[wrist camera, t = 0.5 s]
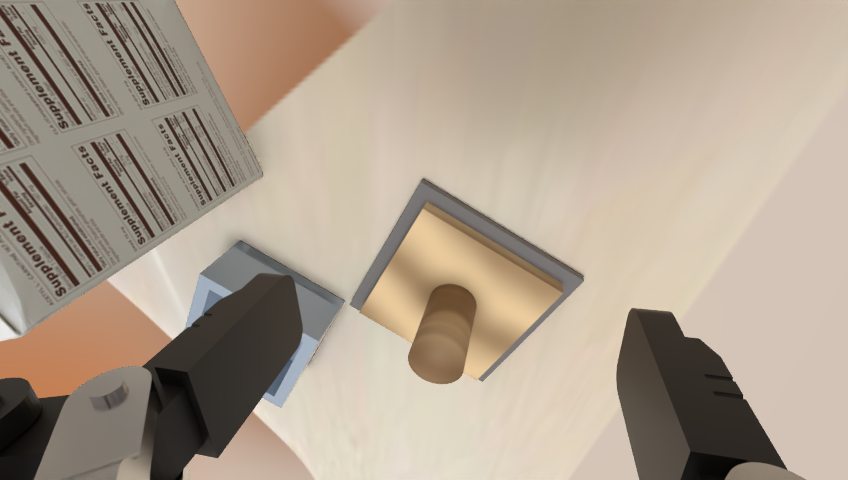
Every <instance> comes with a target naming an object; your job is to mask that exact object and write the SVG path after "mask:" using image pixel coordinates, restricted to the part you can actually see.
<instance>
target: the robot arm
mask: <svg viewBox="0 0 848 480" xmlns="http://www.w3.org/2000/svg"><path fill="white" fill-rule="evenodd" d="M302 333H303V324H302V319H301V313H300V308H299V303H298V297H297V292H296V287H295V282H294V280H293V278H292V277H291V276H290V275H282V274H271V273H259V274H257V275H256V276H255V277H254V278H253V279H252V280H251V281H249V282H248V283H247V284H246V285H245V286H244V287H243V288H242V289H240V290H238V291H236V292H234V293H232V294H230V295H228V296H226V297H224V298H222V299H220V300H219V301H217V302H216V303H215V304H214V305H213V306H212V307H211V308H209V309H208V310H207V311H206V312H205V313H204V316H200V317H199V318H198V319H197V320H196V321H194V322H193V323H192V325H191V327H187V328H186V329H185V330H184V331H183V332H182V333H181V334H179V335H178V336H177V337H176V338H175V339H174V340H172V341H171V342H170V343H169V344H168V345H167V346H166V347H164V348H163V349H162V350H161V351H160V352H159V353H157V354H156V355H155V356H154V357H153V358H152V359H151V360H149V361H148V362H147V363H146V364H145V365H144V366H142V367H138V366H128V367H121V368H117V369H114V370H110V371H107V372H105V373H102V374H100V375H98V376H96V377H94V378H92V379H90V380H88V381H87V382H85V383H84V384H82V385H81V386H80V387H78V388H77V389H76V390H75V391H74V392H73V393H72V394H71V395H65V396H57V397H48V398H39V399H38V397H37V396H36V394H35V392H34V390H33V389H32V387H31V385H30V384H29V382H28V381H27V380H25V379H22V378H5V379H0V480H190V470H189V467H188V465H187V464H188V463H189V461H190V460H191V459H192V458H193V457H194V455H195V454H199V455H204V456H209V457H215V458H218V457H219V456H220V455H221V453H222V452H223V450H224V449H225V448H226V446H227V445H228V444H229V442H230V441H231V439H232V438H233V437H234V435H235V434H236V433H237V431H238V430H239V428H240V427H241V426H242V424H243V423H244V422H245V420H246V419H247V417H248V416H249V415H250V413H251V412H252V411H253V409H254V408H255V407H256V405H257V404H258V402H259V401H260V400H261V398H262V397H263V396H264V394H265V393H266V391H267V390H268V389H269V387H270V386H271V385H272V383H273V382H274V380H275V379H276V378H277V376H278V375H279V374H280V372H281V371H282V369H283V368H284V367H285V365H286V364H287V363H288V361H289V360H290V358H291V357H292V356H293V354H294V353H295V352H296V350H297V349H298V347H299V345H300V342H301V339H302ZM616 379H617V391H618V395H619V399H620V403H621V407H622V411H623V416H624V419H625V423H626V428H627V432H628V436H629V440H630V444H631V448H632V452H633V456H634V460H635V464H636V468H637V472H638V476H639V480H805V479H804V478H802V477H800V476H798V475H796V474H794V473H792V472H790V471H788V470H787V468H786V467H785V465H784V463H783V461H782V460H781V458H780V456H779V455H778V453H777V451H776V450H775V448H774V446H773V444H772V443H771V441H770V439H769V438H768V436H767V434H766V433H765V431H764V429H763V428H762V426H761V424H760V423H759V421H758V419H757V418H756V416H755V414H754V413H753V411H752V409H751V407H750V406H749V404H748V402H747V401H746V400H745V399H743V394H742V392H741V391H740V389H739V387H738V385H737V384H736V382H734V381H733V380H732V379H733V377H732V375H731V374H730V372H729V370H728V369H727V367H726V365H725V363H724V362H723V360H722V358H721V357H720V356H719V355H718V354H716V353H715V352H714V351H713V350H712V349H710V348H709V347H708V346H707V345H706V344H705V343H704V342H702V341H701V340H700V339H698V338H688V337H685V336H684V334H683V332H682V330H681V328H680V326H679V325H678V323H677V321H676V319H675V317H674V315H673V314H672V313H671V312H668V311H657V310H647V309H636V308H632V309H631V310H630V312H629V314H628V318H627V322H626V327H625V331H624V336H623V340H622V345H621V350H620V354H619V359H618V364H617V375H616Z"/></svg>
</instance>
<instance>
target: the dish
mask: <svg viewBox="0 0 848 480" xmlns="http://www.w3.org/2000/svg"><path fill="white" fill-rule="evenodd" d="M259 273H271V274H282V275H290V276H291V277H292V278H293V280H294V282H295V287H296V292H297V297H298V303H299V308H300V313H301V319H302V324H303V333H302V339H301V342H300V345H299V347H298V349H297V350H296V352H295V353H294V354H293V356H292V357H291V358H290V360H289V361H288V363H287V364H286V365H285V367H284V368H283V369H282V371H281V372H280V374H279V375H278V376H277V378H276V379H275V380H274V382H273V383H272V385H271V386H270V387H269V389H268V390H267V391H266V393H265V394H264V396H263V397H262V398H264V399H266V400H267V401H269V402H271V403H273V404H275V405H276V406H278V407H280V408H281V407H282V406H283V404H284V403H285V401H286V400H287V398H288V396H289V395H290V393H291V392H292V390H293V388H294V387H295V385H296V384H297V382H298V380H299V379H300V377H301V376H302V374H303V372H304V371H305V369H306V368H307V366H308V364H309V363H310V361H311V359H312V357H313V356H314V354H315V352H316V350H317V349H318V347H319V345H320V343H321V342H322V340H323V338H324V336H325V335H326V333H327V331H328V329H329V328H330V326H331V324H332V322H333V321H334V319H335V317H336V315H337V314H338V312H339V310H340V308H341V307H342V305H343V303H344V300H342V299H340V298H339V297H337V296H335V295H334V294H332V293H330V292H328V291H327V290H325V289H323V288H321V287H320V286H318V285H316V284H315V283H313V282H311V281H309V280H308V279H306V278H304V277H302V276H301V275H299V274H297V273H296V272H294V271H292V270H290V269H289V268H287V267H285V266H284V265H282V264H280V263H278V262H277V261H275V260H273V259H271V258H270V257H268V256H266V255H265V254H263V253H261V252H259V251H258V250H256V249H254V248H252V247H251V246H249V245H247V244H246V243H244V242H242V241H239V242H238V243H237V244H235V245H234V246H233V247H232V248H231V249H229V250H228V251H227V252H226V253H224V254H223V255H222V256H221V257H220V258H218V259H217V260H216V261H215V262H214V263H212V264H211V265H210V266H209V267H207V268H206V269H205V270H204V271H203V272H201V273H200V275H199V278H198V282H197V286H196V290H195V293H194V297H193V301H192V305H191V308H190V312H189V316H188V319H187V323H186V327H185V329H186V328H187V327H191V325H192V323H193V322H194V321H196V320H197V319H198V318H199V317H200V316H204V313H205V312H206V311H207V310H208V309H209V308H211V307H212V306H213V305H214V304H215V303H216V302H217V301H219V300H220V299H222V298H224V297H226V296H228V295H230V294H232V293H234V292H236V291H238V290H240V289H242V288H243V287H244V286H245V285H246V284H247V283H248V282H249V281H251V280H252V279H253V278H254V277H255V276H256V275H257V274H259Z"/></svg>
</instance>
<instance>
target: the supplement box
mask: <svg viewBox="0 0 848 480" xmlns="http://www.w3.org/2000/svg"><path fill="white" fill-rule="evenodd" d="M261 177H262V171H261V168H260V166H259V164H258V162H257V160H256V158H255V156H254V154H253V152H252V150H251V148H250V146H249V144H248V142H247V140H246V138H245V137H244V135H243V133H242V131H241V129H240V127H239V125H238V123H237V121H236V119H235V117H234V115H233V113H232V111H231V109H230V107H229V105H228V103H227V101H226V99H225V97H224V96H223V94H222V92H221V90H220V88H219V86H218V84H217V82H216V80H215V78H214V76H213V74H212V72H211V70H210V68H209V66H208V64H207V62H206V60H205V58H204V56H203V55H202V53H201V51H200V49H199V47H198V45H197V43H196V41H195V39H194V37H193V35H192V33H191V31H190V29H189V27H188V25H187V23H186V21H185V20H184V18H183V16H182V15H181V12H180V10H179V8H178V6H177V4H176V2H175V0H0V341H3V340H8V339H13V338H19V337H22V336H24V335H26V334H27V333H28V332H29V331H31V330H32V329H33V328H34V327H36V326H37V325H38V324H40V323H41V322H43V321H44V320H46V319H47V318H49V317H50V316H52V315H53V314H55V313H56V312H58V311H59V310H61V309H62V308H64V307H65V306H67V305H68V304H70V303H71V302H73V301H74V300H76V299H77V298H79V297H80V296H82V295H83V294H85V293H86V292H88V291H89V290H91V289H92V288H94V287H95V286H97V285H98V284H100V283H101V282H103V281H104V280H106V279H107V278H109V277H110V276H112V275H114V274H115V273H117V272H118V271H120V270H121V269H123V268H124V267H126V266H127V265H129V264H130V263H132V262H133V261H135V260H136V259H138V258H139V257H141V256H142V255H144V254H145V253H147V252H148V251H150V250H152V249H153V248H155V247H156V246H158V245H159V244H161V243H162V242H164V241H165V240H167V239H168V238H170V237H171V236H173V235H174V234H176V233H177V232H179V231H180V230H182V229H183V228H185V227H187V226H188V225H190V224H191V223H193V222H194V221H196V220H197V219H199V218H200V217H202V216H203V215H205V214H206V213H208V212H209V211H211V210H212V209H214V208H215V207H217V206H218V205H220V204H221V203H223V202H224V201H226V200H227V199H229V198H230V197H232V196H233V195H235V194H237V193H238V192H240V191H241V190H243V189H244V188H246V187H247V186H249V185H250V184H252V183H253V182H255V181H256V180H258V179H260V178H261Z"/></svg>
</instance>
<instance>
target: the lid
mask: <svg viewBox="0 0 848 480" xmlns="http://www.w3.org/2000/svg"><path fill="white" fill-rule="evenodd" d="M562 294H563V283H561V282H560V281H558V280H557V279H555V278H553V277H552V276H550V275H548V274H547V273H545V272H543V271H542V270H540V269H538V268H537V267H535V266H533V265H532V264H530V263H528V262H527V261H525V260H523V259H522V258H520V257H518V256H517V255H515V254H513V253H512V252H510V251H509V250H507V249H505V248H504V247H502V246H500V245H499V244H497V243H495V242H494V241H492V240H490V239H489V238H487V237H485V236H484V235H482V234H480V233H479V232H477V231H475V230H474V229H472V228H470V227H469V226H467V225H465V224H464V223H462V222H461V221H459V220H457V219H456V218H454V217H452V216H451V215H449V214H447V213H446V212H444V211H442V210H441V209H439V208H437V207H436V206H434V205H432V204H431V203H429V202H426V204H425V205H424V207H423V208H422V210H421V212H420V213H419V215H418V217H417V218H416V220H415V222H414V223H413V225H412V226H411V228H410V230H409V231H408V233H407V235H406V236H405V238H404V239H403V241H402V243H401V244H400V246H399V248H398V249H397V251H396V252H395V254H394V256H393V257H392V259H391V261H390V262H389V264H388V265H387V267H386V269H385V270H384V272H383V274H382V275H381V277H380V279H379V280H378V282H377V283H376V285H375V287H374V288H373V290H372V292H371V293H370V295H369V296H368V298H367V300H366V301H365V303H364V305H363V306H362V308H361V310H360V312H359V313H361V314H363V315H365V316H366V317H368V318H370V319H372V320H373V321H375V322H377V323H378V324H380V325H382V326H384V327H385V328H387V329H389V330H391V331H392V332H394V333H396V334H397V335H399V336H401V337H403V338H404V339H406V340H408V341H410V342H411V343H413V344H412V347H411V349H410V352H409V355H408V361H409V365H410V367H411V368H412V370H413V371H414V372H415V373H416V374H417V375H418V376H419V377H421V378H422V379H424V380H426V381H429V382H432V383H436V384H448V383H452V382H454V381H456V380H458V379H459V378H460V377H461V376H462V374H463V373H465V374H467V375H468V376H470V377H472V378H473V379H475V380H478V379H479V378H480V377H481V376H482V375H483V374H484V373H485V372H486V371H487V370H488V369H489V368H490V367H491V366H492V365H493V364H494V363H495V362H496V361H497V360H498V359H499V358H500V357H501V356H502V355H503V354H504V353H505V352H506V351H507V350H508V349H509V348H510V347H511V346H512V344H513V343H514V342H515V341H516V340H517V339H518V338H519V337H520V336H521V335H522V334H523V333H524V332H525V331H526V330H527V329H528V328H529V327H530V326H531V325H532V324H533V323H534V322H535V321H536V320H537V319H538V318H539V317H540V316H541V315H542V314H543V313H544V312H545V311H546V310H547V309H548V308H549V307H550V306H551V305H552V304H553V303H554V302H555V301H556V300H557V299H558V298H559V297H560V296H561V295H562Z"/></svg>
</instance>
